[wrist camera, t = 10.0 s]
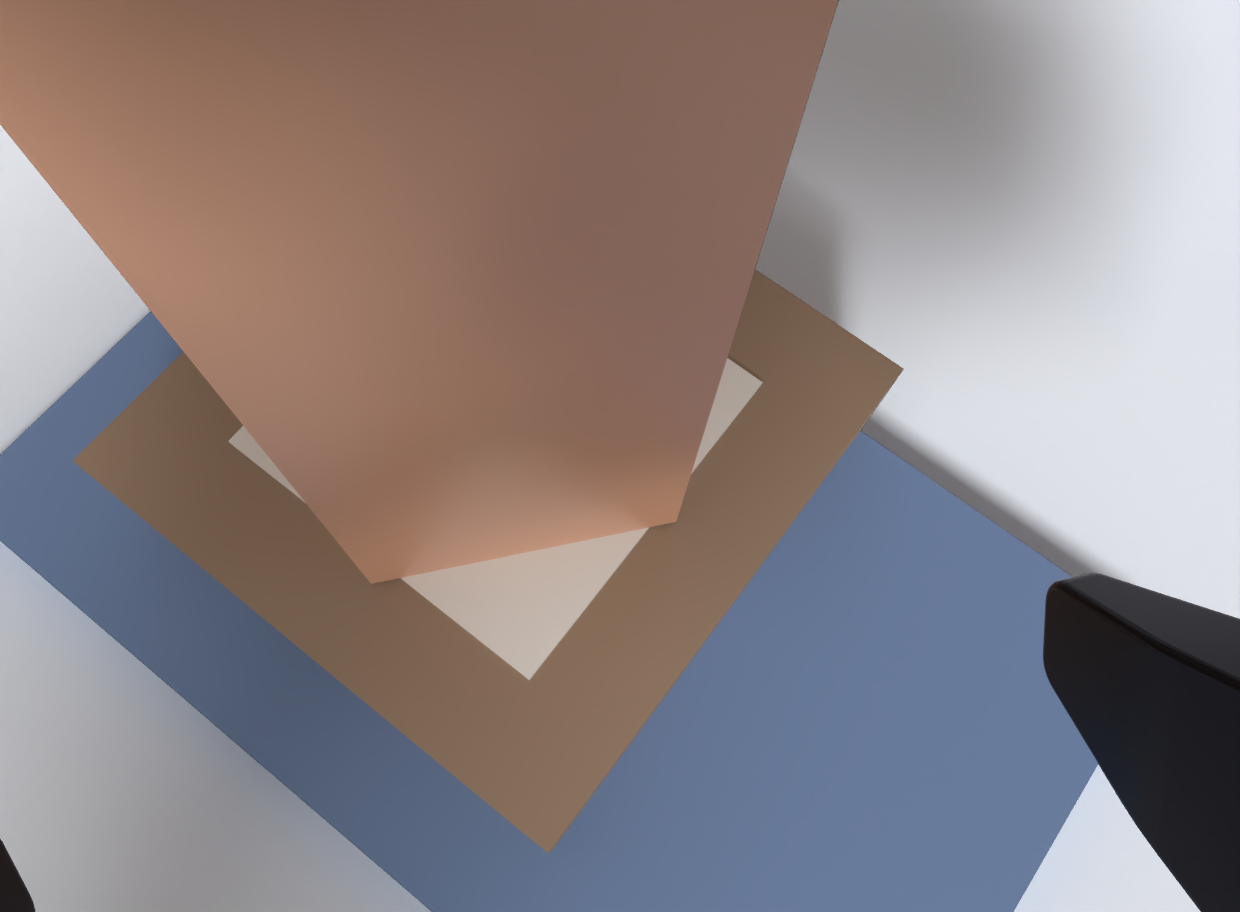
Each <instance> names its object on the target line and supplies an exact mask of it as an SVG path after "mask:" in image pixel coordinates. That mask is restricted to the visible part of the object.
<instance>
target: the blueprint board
mask: <svg viewBox="0 0 1240 912" xmlns="http://www.w3.org/2000/svg"><path fill="white" fill-rule="evenodd" d="M902 371H903V368H902V367H900V366H899V365H897V364H896V363H894V362H893V361H891V360H890V359H888V358H887V357H885V356H884V355H882V354H881V353H879V352H878V351H876V350H875V349H873V348H872V347H870V346H869V345H867V344H866V343H864V342H863V341H861V340H860V339H858V338H857V337H855V336H854V335H852V334H851V333H849V332H848V331H846V330H845V329H843V328H842V327H840V326H839V325H837V324H836V323H834V322H833V321H831V320H830V319H828V318H827V317H825V316H824V315H823V314H821V313H820V312H818V311H817V310H815V309H814V308H812V307H811V306H809V305H808V304H806V303H805V302H803V301H802V300H800V299H799V298H797V297H796V296H794V295H793V294H791V293H790V292H788V291H787V290H785V289H784V288H782V287H781V286H779V285H778V284H776V283H775V282H773V281H772V280H770V279H769V278H767V277H766V276H764V275H763V274H761V273H760V272H758V271H757V270H755V271H754V274H753V277H752V280H751V283H750V287H749V290H748V293H747V296H746V299H745V303H744V306H743V309H742V312H741V316H740V319H739V322H738V325H737V328H736V332H735V335H734V338H733V341H732V344H731V348H730V351H729V354H728V357H727V360H726V364H725V367H724V370H723V373H722V376H721V380H720V383H719V386H718V389H717V393H716V396H715V399H714V402H713V405H712V409H711V412H710V415H709V418H708V421H707V425H706V428H705V431H704V434H703V437H702V441H701V444H700V447H699V450H698V453H697V457H696V460H695V463H694V466H693V470H692V473H691V476H690V479H689V482H688V486H687V489H686V492H685V495H684V498H683V502H682V505H681V508H680V511H679V514H678V518H677V521H676V522H673V523H668V524H663V525H659V526H654V527H649V528H644V529H639V530H634V531H629V532H624V533H619V534H614V535H609V536H604V537H600V538H595V539H590V540H585V541H580V542H575V543H570V544H565V545H560V546H555V547H550V548H546V549H541V550H536V551H531V552H526V553H521V554H516V555H511V556H506V557H501V558H496V559H491V560H487V561H482V562H477V563H472V564H467V565H462V566H457V567H452V568H447V569H442V570H437V571H432V572H428V573H423V574H418V575H413V576H408V577H403V578H398V579H393V580H388V581H383V582H378V583H373V584H371V583H370V582H369V581H368V579H367V578H366V577H365V576H364V575H363V573H362V572H361V571H360V570H359V568H358V567H357V566H356V565H355V563H354V562H353V561H352V560H351V558H350V557H349V556H348V555H347V553H346V552H345V551H344V550H343V548H342V547H341V546H340V545H339V544H338V542H337V541H336V540H335V539H334V537H333V536H332V535H331V534H330V532H329V531H328V530H327V529H326V527H325V526H324V525H323V524H322V522H321V521H320V520H319V519H318V518H317V516H316V515H315V514H314V513H313V511H312V510H311V509H310V508H309V506H308V505H307V504H306V503H305V501H304V500H303V499H302V498H301V496H300V495H299V494H298V493H297V491H296V490H295V489H294V488H293V487H292V485H291V484H290V483H289V482H288V480H287V479H286V478H285V477H284V475H283V474H282V473H281V472H280V470H279V469H278V468H277V467H276V465H275V464H274V463H273V462H272V461H271V459H270V458H269V457H268V456H267V454H266V453H265V452H264V451H263V449H262V448H261V447H260V446H259V444H258V443H257V442H256V441H255V439H254V438H253V437H252V436H251V434H250V433H249V432H248V431H247V430H246V428H245V427H244V426H243V425H242V423H241V422H240V421H239V420H238V418H237V417H236V416H235V415H234V413H233V412H232V411H231V410H230V408H229V407H228V406H227V405H226V404H225V402H224V401H223V400H222V399H221V397H220V396H219V395H218V394H217V392H216V391H215V390H214V389H213V387H212V386H211V385H210V384H209V382H208V381H207V380H206V379H205V377H204V376H203V375H202V374H201V373H200V371H199V370H198V369H197V368H196V366H195V365H194V364H193V363H192V361H191V360H190V359H189V358H188V356H187V355H186V354H185V353H184V351H183V350H182V349H181V348H180V346H179V345H178V344H177V343H176V342H175V340H174V339H173V338H172V337H171V335H170V334H169V333H168V332H167V330H166V329H165V328H164V327H163V325H162V324H161V323H160V322H159V320H158V319H157V318H156V317H155V316H154V314H153V313H152V312H150V313H148V314H147V315H146V316H145V317H144V318H143V319H142V320H141V321H140V322H139V323H138V324H137V325H136V326H135V327H134V328H133V329H132V330H131V331H130V332H129V333H127V334H126V335H125V336H124V337H123V338H122V339H121V340H120V341H119V342H118V343H117V344H116V345H115V346H114V347H113V348H112V349H111V350H110V351H109V352H108V353H107V354H105V355H104V356H103V357H102V358H101V359H100V360H99V361H98V362H97V363H96V364H95V365H94V366H93V367H92V368H91V369H90V370H89V371H88V372H87V373H86V374H84V375H83V376H82V377H81V378H80V379H79V380H78V381H77V382H76V383H75V384H74V385H73V386H72V387H71V388H70V389H69V390H68V391H67V392H66V393H65V394H64V395H62V396H61V397H60V398H59V399H58V400H57V401H56V402H55V403H54V404H53V405H52V406H51V407H50V408H49V409H48V410H47V411H46V412H45V413H44V414H43V415H41V416H40V417H39V418H38V419H37V420H36V421H35V422H34V423H33V424H32V425H31V426H30V427H29V428H28V429H27V430H26V431H25V432H24V433H23V434H22V435H21V436H19V437H18V438H17V439H16V440H15V441H14V442H13V443H12V444H11V445H10V446H9V447H8V448H7V449H6V450H5V451H4V452H3V453H2V454H1V455H0V541H1V542H2V543H4V544H5V545H6V546H7V547H8V548H9V549H11V550H12V551H13V552H14V553H15V554H16V555H17V556H19V557H20V558H21V559H22V560H23V561H24V562H26V563H27V564H28V565H29V566H30V567H31V568H33V569H34V570H35V571H36V572H37V573H38V574H40V575H41V576H42V577H43V578H44V579H45V580H47V581H48V582H49V583H50V584H51V585H52V586H54V587H55V588H56V589H57V590H58V591H59V592H61V593H62V594H63V595H64V596H65V597H66V598H68V599H69V600H70V601H71V602H72V603H73V604H75V605H76V606H77V607H78V608H79V609H80V610H81V611H83V612H84V613H85V614H86V615H87V616H88V617H90V618H91V619H92V620H93V621H94V622H95V623H97V624H98V625H99V626H100V627H101V628H102V629H104V630H105V631H106V632H107V633H108V634H109V635H111V636H112V637H113V638H114V639H115V640H116V641H118V642H119V643H120V644H121V645H122V646H123V647H125V648H126V649H127V650H128V651H129V652H130V653H132V654H133V655H134V656H135V657H136V658H137V659H138V660H140V661H141V662H142V663H143V664H144V665H145V666H147V667H148V668H149V669H150V670H151V671H152V672H154V673H155V674H156V675H157V676H158V677H159V678H161V679H162V680H163V681H164V682H165V683H166V684H168V685H169V686H170V687H171V688H172V689H173V690H175V691H176V692H177V693H178V694H179V695H180V696H182V697H183V698H184V699H185V700H186V701H187V702H189V703H190V704H191V705H192V706H193V707H194V708H196V709H197V710H198V711H199V712H200V713H201V714H202V715H204V716H205V717H206V718H207V719H208V720H209V721H211V722H212V723H213V724H214V725H215V726H216V727H218V728H219V729H220V730H221V731H222V732H223V733H225V734H226V735H227V736H228V737H229V738H230V739H232V740H233V741H234V742H235V743H236V744H237V745H239V746H240V747H241V748H242V749H243V750H244V751H246V752H247V753H248V754H249V755H250V756H251V757H253V758H254V759H255V760H256V761H257V762H258V763H260V764H261V765H262V766H263V767H264V768H265V769H266V770H268V771H269V772H270V773H271V774H272V775H273V776H275V777H276V778H277V779H278V780H279V781H280V782H282V783H283V784H284V785H285V786H286V787H287V788H289V789H290V790H291V791H292V792H293V793H294V794H296V795H297V796H298V797H299V798H300V799H301V800H303V801H304V802H305V803H306V804H307V805H308V806H310V807H311V808H312V809H313V810H314V811H315V812H317V813H318V814H319V815H320V816H321V817H322V818H323V819H325V820H326V821H327V822H328V823H329V824H330V825H332V826H333V827H334V828H335V829H336V830H337V831H339V832H340V833H341V834H342V835H343V836H344V837H346V838H347V839H348V840H349V841H350V842H351V843H353V844H354V845H355V846H356V847H357V848H358V849H360V850H361V851H362V852H363V853H364V854H365V855H367V856H368V857H369V858H370V859H371V860H372V861H374V862H375V863H376V864H377V865H378V866H379V867H381V868H382V869H383V870H384V871H385V872H386V873H387V874H389V875H390V876H391V877H392V878H393V879H394V880H396V881H397V882H398V883H399V884H400V885H401V886H403V887H404V888H405V889H406V890H407V891H408V892H410V893H411V894H412V895H413V896H414V897H415V898H417V899H418V900H419V901H420V902H421V903H422V904H424V905H425V906H426V907H427V908H428V909H429V910H431V911H432V912H1014V910H1015V908H1016V906H1017V905H1018V903H1019V901H1020V899H1021V898H1022V896H1023V894H1024V892H1025V891H1026V889H1027V887H1028V885H1029V884H1030V882H1031V880H1032V879H1033V877H1034V875H1035V873H1036V872H1037V870H1038V868H1039V866H1040V865H1041V863H1042V861H1043V859H1044V858H1045V856H1046V854H1047V852H1048V851H1049V849H1050V847H1051V845H1052V844H1053V842H1054V840H1055V838H1056V837H1057V835H1058V833H1059V831H1060V830H1061V828H1062V826H1063V824H1064V823H1065V821H1066V819H1067V817H1068V816H1069V814H1070V812H1071V810H1072V809H1073V807H1074V805H1075V804H1076V802H1077V800H1078V798H1079V797H1080V795H1081V793H1082V791H1083V790H1084V788H1085V786H1086V784H1087V783H1088V781H1089V779H1090V777H1091V776H1092V774H1093V772H1094V770H1095V769H1096V767H1097V765H1098V762H1097V761H1096V759H1095V758H1094V756H1093V754H1092V753H1091V751H1090V749H1089V748H1088V746H1087V744H1086V743H1085V741H1084V739H1083V738H1082V736H1081V734H1080V733H1079V731H1078V729H1077V728H1076V726H1075V724H1074V723H1073V721H1072V719H1071V718H1070V716H1069V715H1068V713H1067V711H1066V710H1065V708H1064V706H1063V705H1062V703H1061V701H1060V700H1059V698H1058V696H1057V695H1056V693H1055V691H1054V690H1053V688H1052V686H1051V684H1050V683H1049V680H1048V678H1047V675H1046V672H1045V669H1044V663H1043V641H1044V621H1045V600H1046V594H1047V591H1048V589H1049V587H1050V586H1051V585H1052V584H1053V583H1054V582H1056V581H1058V580H1062V579H1067V578H1071V577H1072V576H1071V575H1069V574H1068V573H1066V572H1065V571H1063V570H1062V569H1061V568H1059V567H1058V566H1056V565H1055V564H1053V563H1052V562H1050V561H1049V560H1047V559H1046V558H1045V557H1043V556H1042V555H1040V554H1039V553H1037V552H1036V551H1034V550H1033V549H1031V548H1030V547H1029V546H1027V545H1026V544H1024V543H1023V542H1021V541H1020V540H1018V539H1017V538H1016V537H1014V536H1013V535H1011V534H1010V533H1008V532H1007V531H1005V530H1004V529H1002V528H1001V527H1000V526H998V525H997V524H995V523H994V522H992V521H991V520H989V519H988V518H986V517H985V516H984V515H982V514H981V513H979V512H978V511H976V510H975V509H973V508H972V507H971V506H969V505H968V504H966V503H965V502H963V501H962V500H960V499H959V498H957V497H956V496H955V495H953V494H952V493H950V492H949V491H947V490H946V489H944V488H943V487H941V486H940V485H939V484H937V483H936V482H934V481H933V480H931V479H930V478H928V477H927V476H926V475H924V474H923V473H921V472H920V471H918V470H917V469H915V468H914V467H912V466H911V465H910V464H908V463H907V462H905V461H904V460H902V459H901V458H899V457H898V456H896V455H895V454H894V453H892V452H891V451H889V450H888V449H886V448H885V447H883V446H882V445H881V444H879V443H878V442H876V441H875V440H873V439H872V438H870V437H869V436H867V435H866V434H865V433H863V432H862V431H861V430H862V428H863V427H864V425H865V424H866V423H867V421H868V420H869V418H870V417H871V415H872V414H873V412H874V411H875V410H876V408H877V407H878V405H879V404H880V402H881V401H882V399H883V398H884V397H885V395H886V394H887V392H888V391H889V389H890V388H891V387H892V385H893V384H894V382H895V381H896V379H897V378H898V376H899V375H900V374H901V372H902Z"/></svg>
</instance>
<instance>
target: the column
mask: <svg viewBox="0 0 1240 912" xmlns="http://www.w3.org/2000/svg"><path fill="white" fill-rule="evenodd" d="M838 1H839V0H0V125H1V126H2V127H3V128H4V130H5V131H6V132H7V133H8V135H9V136H10V137H11V138H12V140H13V141H14V142H15V143H16V144H17V146H18V147H19V148H20V149H21V151H22V152H23V153H24V154H25V156H26V157H27V158H28V159H29V161H30V162H31V163H32V164H33V166H34V167H35V168H36V169H37V171H38V172H39V173H40V174H41V175H42V177H43V178H44V179H45V180H46V182H47V183H48V184H49V185H50V187H51V188H52V189H53V190H54V192H55V193H56V194H57V195H58V197H59V198H60V199H61V200H62V202H63V203H64V204H65V205H66V206H67V208H68V209H69V210H70V211H71V213H72V214H73V215H74V216H75V218H76V219H77V220H78V221H79V223H80V224H81V225H82V226H83V228H84V229H85V230H86V231H87V232H88V234H89V235H90V236H91V237H92V239H93V240H94V241H95V242H96V244H97V245H98V246H99V247H100V249H101V250H102V251H103V252H104V254H105V255H106V256H107V257H108V259H109V260H110V261H111V262H112V263H113V265H114V266H115V267H116V268H117V270H118V271H119V272H120V273H121V275H122V276H123V277H124V278H125V280H126V281H127V282H128V283H129V285H130V286H131V287H132V288H133V289H134V291H135V292H136V293H137V294H138V296H139V297H140V298H141V299H142V301H143V302H144V303H145V304H146V306H147V307H148V308H149V309H150V311H151V312H152V313H153V314H154V316H155V317H156V318H157V319H158V320H159V322H160V323H161V324H162V325H163V327H164V328H165V329H166V330H167V332H168V333H169V334H170V335H171V337H172V338H173V339H174V340H175V342H176V343H177V344H178V345H179V346H180V348H181V349H182V350H183V351H184V353H185V354H186V355H187V356H188V358H189V359H190V360H191V361H192V363H193V364H194V365H195V366H196V368H197V369H198V370H199V371H200V373H201V374H202V375H203V376H204V377H205V379H206V380H207V381H208V382H209V384H210V385H211V386H212V387H213V389H214V390H215V391H216V392H217V394H218V395H219V396H220V397H221V399H222V400H223V401H224V402H225V404H226V405H227V406H228V407H229V408H230V410H231V411H232V412H233V413H234V415H235V416H236V417H237V418H238V420H239V421H240V422H241V423H242V425H243V426H244V427H245V428H246V430H247V431H248V432H249V433H250V434H251V436H252V437H253V438H254V439H255V441H256V442H257V443H258V444H259V446H260V447H261V448H262V449H263V451H264V452H265V453H266V454H267V456H268V457H269V458H270V459H271V461H272V462H273V463H274V464H275V465H276V467H277V468H278V469H279V470H280V472H281V473H282V474H283V475H284V477H285V478H286V479H287V480H288V482H289V483H290V484H291V485H292V487H293V488H294V489H295V490H296V491H297V493H298V494H299V495H300V496H301V498H302V499H303V500H304V501H305V503H306V504H307V505H308V506H309V508H310V509H311V510H312V511H313V513H314V514H315V515H316V516H317V518H318V519H319V520H320V521H321V522H322V524H323V525H324V526H325V527H326V529H327V530H328V531H329V532H330V534H331V535H332V536H333V537H334V539H335V540H336V541H337V542H338V544H339V545H340V546H341V547H342V548H343V550H344V551H345V552H346V553H347V555H348V556H349V557H350V558H351V560H352V561H353V562H354V563H355V565H356V566H357V567H358V568H359V570H360V571H361V572H362V573H363V575H364V576H365V577H366V578H367V579H368V581H369V582H370V583H371V584H373V583H378V582H383V581H388V580H393V579H398V578H403V577H408V576H413V575H418V574H423V573H428V572H432V571H437V570H442V569H447V568H452V567H457V566H462V565H467V564H472V563H477V562H482V561H487V560H491V559H496V558H501V557H506V556H511V555H516V554H521V553H526V552H531V551H536V550H541V549H546V548H550V547H555V546H560V545H565V544H570V543H575V542H580V541H585V540H590V539H595V538H600V537H604V536H609V535H614V534H619V533H624V532H629V531H634V530H639V529H644V528H649V527H654V526H659V525H663V524H668V523H673V522H676V521H677V518H678V514H679V511H680V508H681V505H682V502H683V498H684V495H685V492H686V489H687V486H688V482H689V479H690V476H691V473H692V470H693V466H694V463H695V460H696V457H697V453H698V450H699V447H700V444H701V441H702V437H703V434H704V431H705V428H706V425H707V421H708V418H709V415H710V412H711V409H712V405H713V402H714V399H715V396H716V393H717V389H718V386H719V383H720V380H721V376H722V373H723V370H724V367H725V364H726V360H727V357H728V354H729V351H730V348H731V344H732V341H733V338H734V335H735V332H736V328H737V325H738V322H739V319H740V316H741V312H742V309H743V306H744V303H745V299H746V296H747V293H748V290H749V287H750V283H751V280H752V277H753V274H754V271H755V267H756V264H757V261H758V258H759V255H760V251H761V248H762V245H763V242H764V239H765V235H766V232H767V229H768V226H769V222H770V219H771V216H772V213H773V210H774V206H775V203H776V200H777V197H778V194H779V190H780V187H781V184H782V181H783V178H784V174H785V171H786V168H787V165H788V162H789V158H790V155H791V152H792V149H793V145H794V142H795V139H796V136H797V133H798V129H799V126H800V123H801V120H802V117H803V113H804V110H805V107H806V104H807V101H808V97H809V94H810V91H811V88H812V85H813V81H814V78H815V75H816V72H817V68H818V65H819V62H820V59H821V56H822V52H823V49H824V46H825V43H826V40H827V36H828V33H829V30H830V27H831V24H832V20H833V17H834V14H835V11H836V8H837V4H838Z"/></svg>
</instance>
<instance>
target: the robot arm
mask: <svg viewBox="0 0 1240 912" xmlns="http://www.w3.org/2000/svg"><path fill="white" fill-rule="evenodd" d="M1043 663H1044V669H1045V672H1046V675H1047V678H1048V680H1049V683H1050V684H1051V686H1052V688H1053V690H1054V691H1055V693H1056V695H1057V696H1058V698H1059V700H1060V701H1061V703H1062V705H1063V706H1064V708H1065V710H1066V711H1067V713H1068V715H1069V716H1070V718H1071V719H1072V721H1073V723H1074V724H1075V726H1076V728H1077V729H1078V731H1079V733H1080V734H1081V736H1082V738H1083V739H1084V741H1085V743H1086V744H1087V746H1088V748H1089V749H1090V751H1091V753H1092V754H1093V756H1094V758H1095V759H1096V761H1097V762H1098V764H1099V766H1100V767H1101V769H1102V771H1103V772H1104V774H1105V776H1106V777H1107V779H1108V781H1109V782H1110V784H1111V786H1112V787H1113V789H1114V791H1115V792H1116V794H1117V796H1118V797H1119V799H1120V800H1121V802H1122V804H1123V805H1124V807H1125V808H1126V810H1127V811H1128V813H1129V815H1130V816H1131V818H1132V819H1133V821H1134V822H1135V824H1136V825H1137V827H1138V828H1139V830H1140V831H1141V832H1142V834H1143V835H1144V837H1145V838H1146V839H1147V841H1148V842H1149V844H1150V845H1151V846H1152V848H1153V849H1154V850H1155V852H1156V853H1157V854H1158V856H1159V857H1160V858H1161V860H1162V861H1163V862H1164V864H1165V865H1166V866H1167V868H1168V869H1169V870H1170V872H1171V873H1172V874H1173V876H1174V877H1175V878H1176V880H1177V881H1178V882H1179V884H1180V885H1181V886H1182V887H1183V889H1184V890H1185V891H1186V893H1187V894H1188V895H1189V897H1190V898H1191V899H1192V901H1193V902H1194V903H1195V905H1196V906H1197V907H1198V909H1199V910H1200V911H1201V912H1240V619H1238V618H1235V617H1232V616H1229V615H1226V614H1223V613H1220V612H1217V611H1214V610H1210V609H1207V608H1204V607H1201V606H1198V605H1195V604H1192V603H1189V602H1186V601H1183V600H1180V599H1176V598H1173V597H1170V596H1167V595H1164V594H1161V593H1158V592H1155V591H1152V590H1149V589H1145V588H1142V587H1139V586H1136V585H1133V584H1130V583H1127V582H1124V581H1121V580H1118V579H1114V578H1111V577H1108V576H1105V575H1102V574H1098V573H1089V574H1084V575H1080V576H1075V577H1071V578H1067V579H1062V580H1058V581H1056V582H1054V583H1053V584H1052V585H1051V586H1050V587H1049V589H1048V591H1047V594H1046V600H1045V621H1044V641H1043ZM0 912H35V908H34V904H33V901H32V898H31V896H30V894H29V892H28V890H27V888H26V886H25V884H24V882H23V880H22V878H21V877H20V875H19V873H18V871H17V869H16V867H15V865H14V863H13V861H12V859H11V857H10V855H9V854H8V852H7V850H6V848H5V846H4V844H3V842H2V841H1V839H0Z"/></svg>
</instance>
